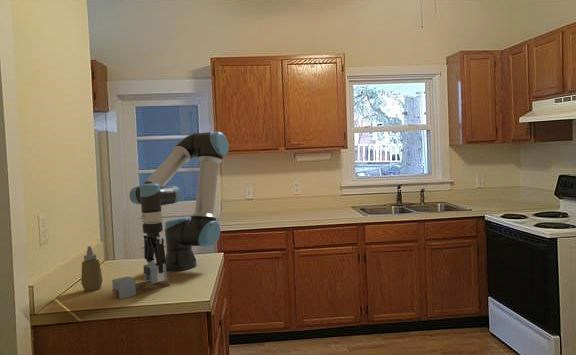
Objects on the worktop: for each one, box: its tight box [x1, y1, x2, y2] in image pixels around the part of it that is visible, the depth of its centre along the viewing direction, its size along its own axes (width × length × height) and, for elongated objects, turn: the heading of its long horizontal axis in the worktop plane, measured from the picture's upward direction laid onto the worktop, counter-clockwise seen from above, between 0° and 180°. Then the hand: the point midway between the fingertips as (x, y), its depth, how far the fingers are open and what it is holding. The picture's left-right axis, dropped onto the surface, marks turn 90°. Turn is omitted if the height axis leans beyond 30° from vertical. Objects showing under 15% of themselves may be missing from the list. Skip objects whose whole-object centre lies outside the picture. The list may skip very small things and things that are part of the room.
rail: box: [111, 276, 171, 300], centre depth 180 cm, size 22×3×4 cm, turn 130°
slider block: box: [112, 275, 137, 300], centre depth 175 cm, size 7×7×6 cm
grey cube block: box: [143, 262, 167, 283], centre depth 183 cm, size 7×7×6 cm
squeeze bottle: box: [80, 245, 104, 293], centre depth 186 cm, size 8×8×18 cm
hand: (156, 279), depth 183 cm, fingers closed on grey cube block, 7 cm apart
